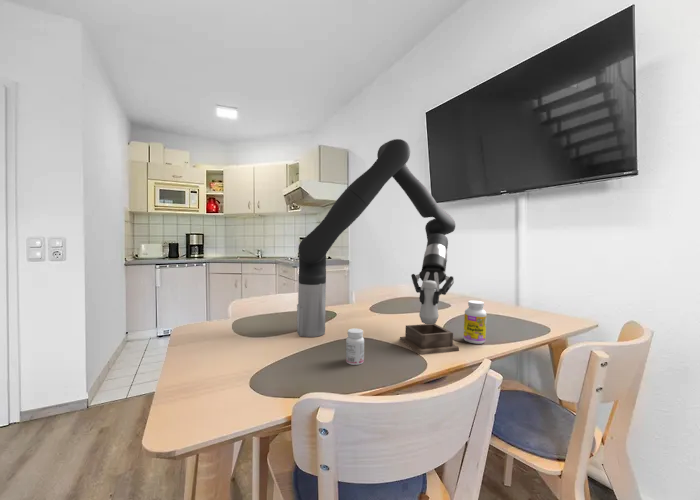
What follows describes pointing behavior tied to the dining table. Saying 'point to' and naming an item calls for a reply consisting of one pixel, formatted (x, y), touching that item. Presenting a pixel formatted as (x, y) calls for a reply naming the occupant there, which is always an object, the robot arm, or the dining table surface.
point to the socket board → (428, 339)
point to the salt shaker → (429, 303)
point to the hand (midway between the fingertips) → (428, 303)
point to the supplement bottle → (475, 322)
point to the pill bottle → (355, 347)
